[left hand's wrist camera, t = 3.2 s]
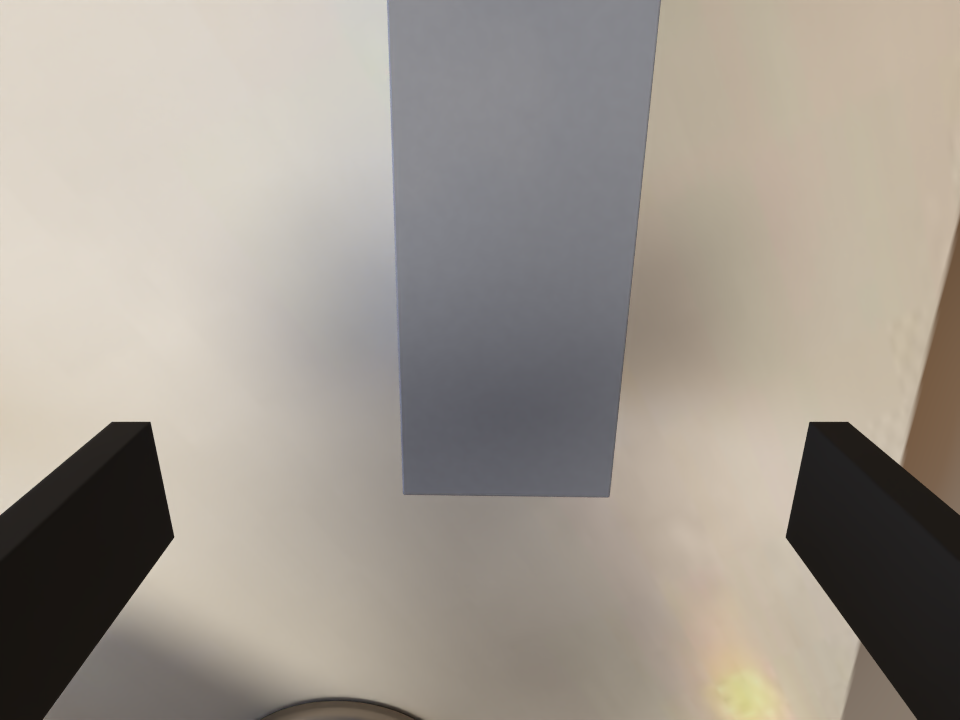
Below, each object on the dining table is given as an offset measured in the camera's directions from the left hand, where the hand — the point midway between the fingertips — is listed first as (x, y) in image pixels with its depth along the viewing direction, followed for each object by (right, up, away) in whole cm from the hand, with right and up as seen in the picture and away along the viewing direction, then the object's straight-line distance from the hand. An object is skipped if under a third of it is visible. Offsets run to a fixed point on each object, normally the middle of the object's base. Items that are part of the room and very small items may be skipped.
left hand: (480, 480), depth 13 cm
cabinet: (+1, +10, +13) cm, 17 cm away
